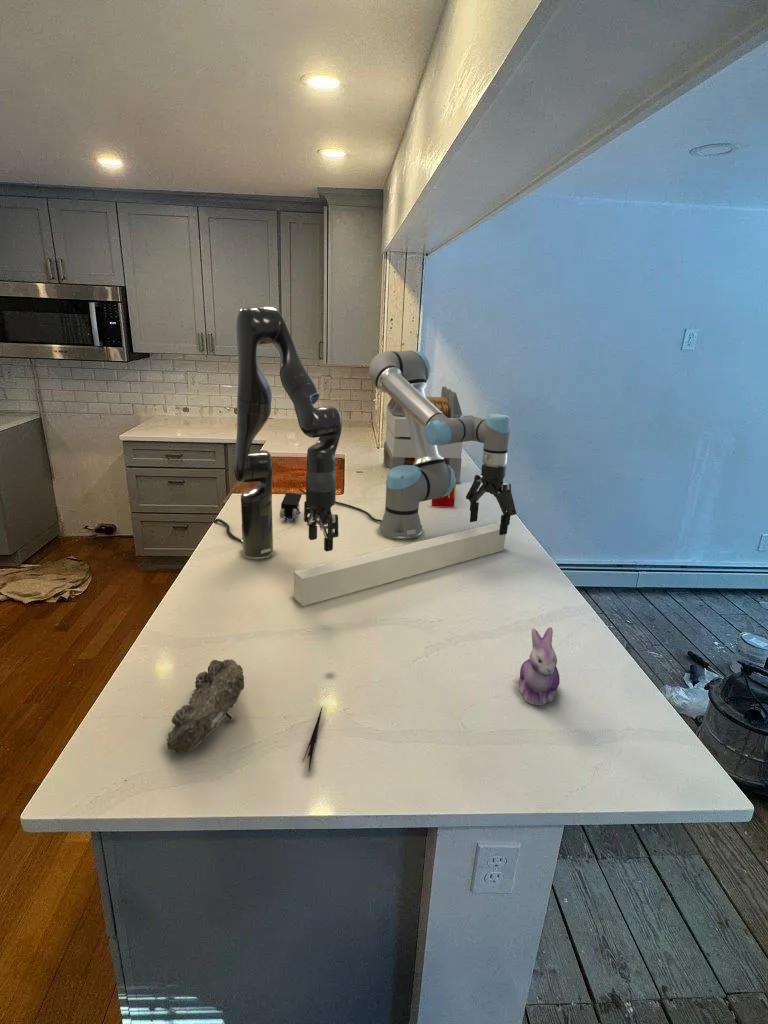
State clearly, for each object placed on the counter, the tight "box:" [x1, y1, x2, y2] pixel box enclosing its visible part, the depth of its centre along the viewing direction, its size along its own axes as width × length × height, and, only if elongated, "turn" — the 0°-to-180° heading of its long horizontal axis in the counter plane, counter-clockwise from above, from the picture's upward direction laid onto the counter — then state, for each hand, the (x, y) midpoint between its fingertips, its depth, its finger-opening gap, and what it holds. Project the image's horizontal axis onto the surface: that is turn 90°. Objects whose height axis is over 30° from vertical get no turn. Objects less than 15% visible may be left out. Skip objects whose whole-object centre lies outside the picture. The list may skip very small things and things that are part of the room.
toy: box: [431, 474, 457, 508], centre depth 240 cm, size 12×13×30 cm
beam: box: [293, 522, 507, 607], centre depth 170 cm, size 75×5×8 cm, turn 125°
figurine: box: [518, 626, 561, 706], centre depth 117 cm, size 9×10×15 cm
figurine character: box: [279, 492, 302, 523], centre depth 209 cm, size 7×8×15 cm
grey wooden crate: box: [383, 386, 464, 484], centre depth 268 cm, size 34×33×41 cm
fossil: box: [166, 658, 245, 754], centre depth 106 cm, size 22×10×15 cm
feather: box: [301, 673, 332, 771], centre depth 108 cm, size 2×28×2 cm
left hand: (320, 544), depth 149 cm, fingers open, 8 cm apart
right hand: (487, 527), depth 185 cm, fingers open, 13 cm apart
